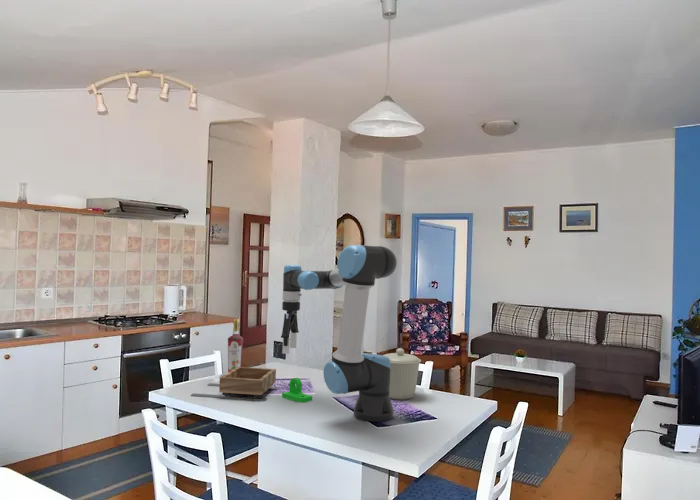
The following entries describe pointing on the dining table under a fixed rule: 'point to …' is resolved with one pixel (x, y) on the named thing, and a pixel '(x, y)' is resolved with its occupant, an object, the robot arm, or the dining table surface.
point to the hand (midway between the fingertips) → (289, 350)
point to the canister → (403, 374)
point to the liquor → (235, 347)
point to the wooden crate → (247, 381)
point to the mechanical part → (296, 392)
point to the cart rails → (231, 396)
